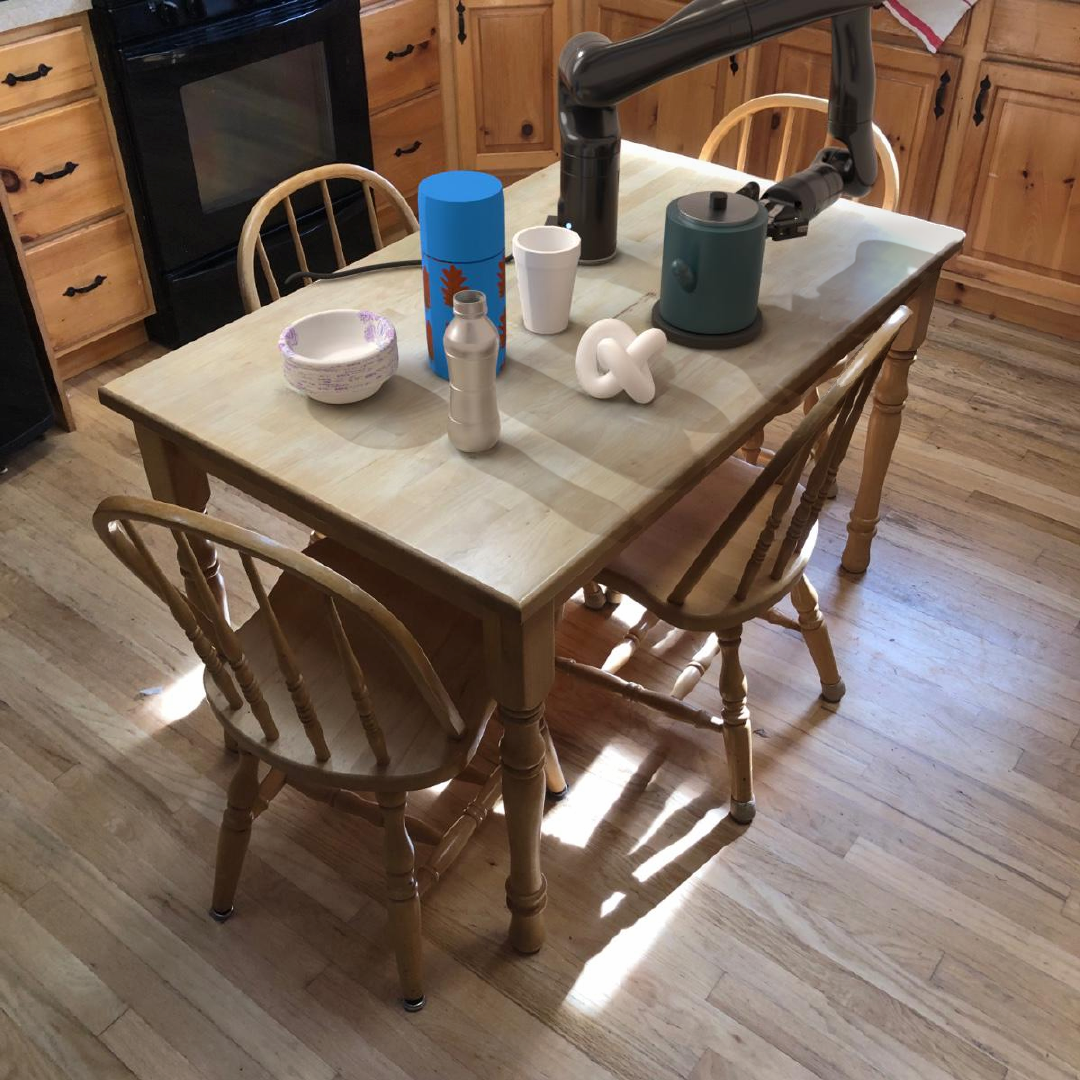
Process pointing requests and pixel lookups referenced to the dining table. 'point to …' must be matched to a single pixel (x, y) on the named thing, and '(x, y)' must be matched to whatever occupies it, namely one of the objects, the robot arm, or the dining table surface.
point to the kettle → (713, 260)
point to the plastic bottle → (472, 374)
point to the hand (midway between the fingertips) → (737, 235)
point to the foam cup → (546, 275)
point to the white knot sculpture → (618, 360)
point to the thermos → (461, 253)
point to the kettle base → (706, 340)
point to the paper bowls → (339, 354)
